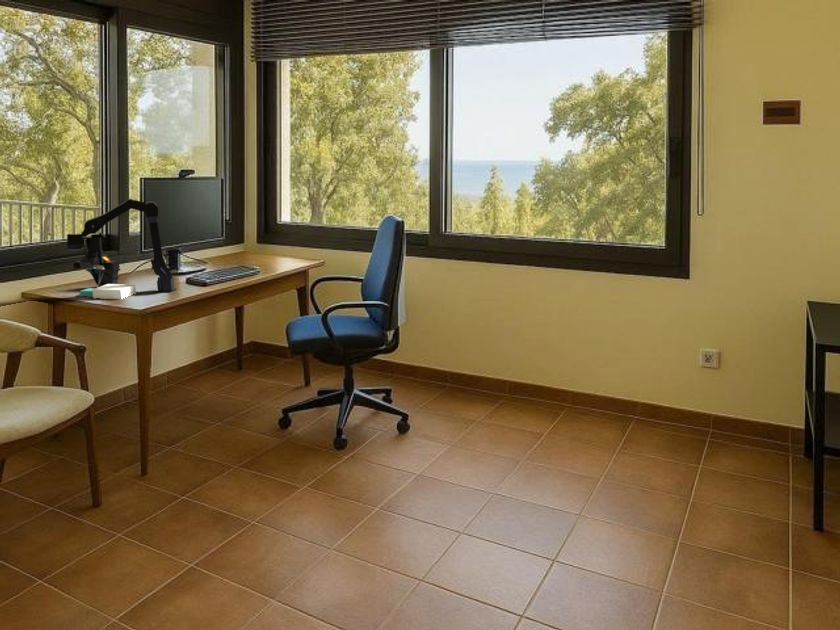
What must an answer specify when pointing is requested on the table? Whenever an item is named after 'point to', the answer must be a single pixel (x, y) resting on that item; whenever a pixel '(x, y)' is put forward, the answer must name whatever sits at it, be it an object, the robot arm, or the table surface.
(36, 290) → the table surface
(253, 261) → the table surface
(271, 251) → the table surface
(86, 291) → the turquoise slab
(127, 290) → the white flat block
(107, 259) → the black stepped slab
